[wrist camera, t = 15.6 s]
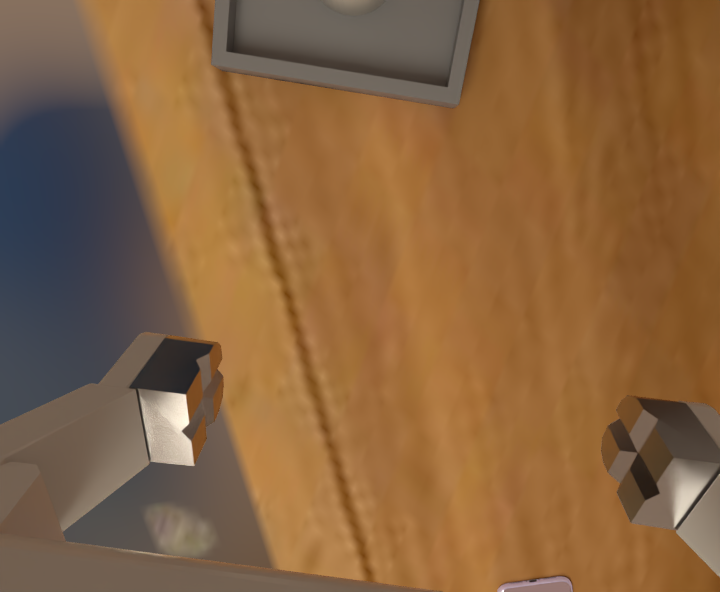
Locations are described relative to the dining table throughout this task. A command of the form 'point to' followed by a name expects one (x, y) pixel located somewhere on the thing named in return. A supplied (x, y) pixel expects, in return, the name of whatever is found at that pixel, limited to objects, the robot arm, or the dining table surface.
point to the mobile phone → (539, 585)
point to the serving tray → (350, 46)
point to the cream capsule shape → (353, 6)
